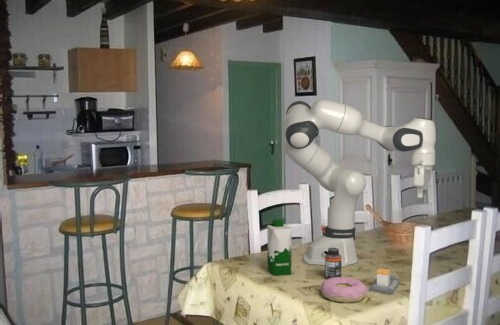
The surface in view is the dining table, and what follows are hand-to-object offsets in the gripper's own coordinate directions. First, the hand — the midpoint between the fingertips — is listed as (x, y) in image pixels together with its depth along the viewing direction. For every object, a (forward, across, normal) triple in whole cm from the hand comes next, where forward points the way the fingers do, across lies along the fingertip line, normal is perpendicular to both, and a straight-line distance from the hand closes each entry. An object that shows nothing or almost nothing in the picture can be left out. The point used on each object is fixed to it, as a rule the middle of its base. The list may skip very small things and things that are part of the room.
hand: (422, 195), depth 196 cm
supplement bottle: (+29, -26, +27) cm, 48 cm away
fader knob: (+28, -30, +8) cm, 41 cm away
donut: (+30, -42, +19) cm, 55 cm away
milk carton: (+29, -28, +48) cm, 63 cm away
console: (+29, -27, +8) cm, 40 cm away
